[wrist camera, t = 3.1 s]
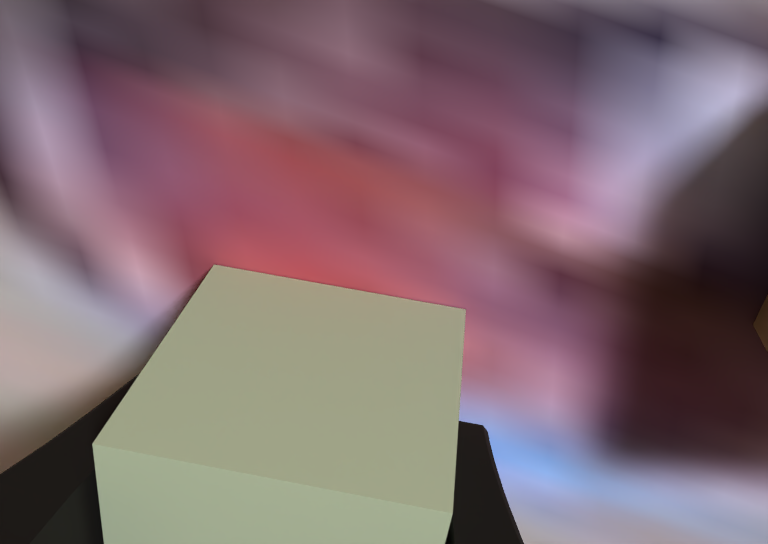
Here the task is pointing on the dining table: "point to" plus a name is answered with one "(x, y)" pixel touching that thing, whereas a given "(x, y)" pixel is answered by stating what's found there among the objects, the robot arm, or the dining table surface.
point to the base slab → (762, 323)
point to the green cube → (288, 420)
